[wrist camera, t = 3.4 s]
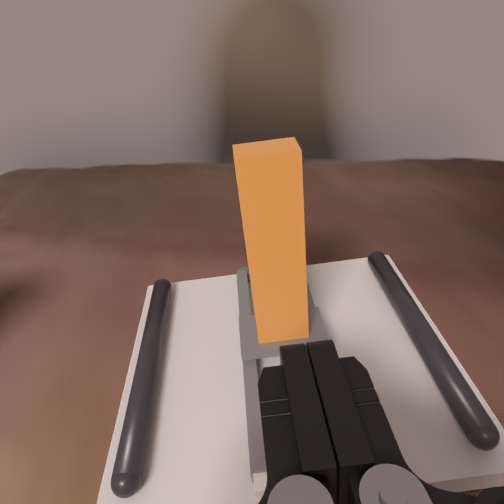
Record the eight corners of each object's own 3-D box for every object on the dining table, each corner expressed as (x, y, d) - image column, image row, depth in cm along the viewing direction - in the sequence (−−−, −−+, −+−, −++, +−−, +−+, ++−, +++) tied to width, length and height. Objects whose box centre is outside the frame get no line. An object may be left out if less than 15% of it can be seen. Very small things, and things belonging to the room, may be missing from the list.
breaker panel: (387, 266, 34) (389, 240, 33) (524, 483, 19) (539, 451, 17) (151, 297, 34) (144, 272, 33) (99, 539, 19) (80, 512, 17)
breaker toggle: (318, 313, 26) (314, 130, 20) (329, 349, 24) (329, 151, 17) (239, 323, 26) (210, 143, 20) (242, 360, 24) (208, 166, 17)
